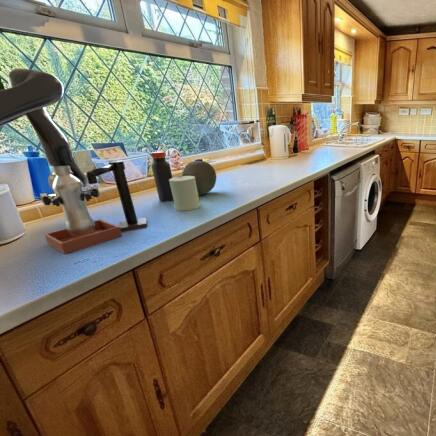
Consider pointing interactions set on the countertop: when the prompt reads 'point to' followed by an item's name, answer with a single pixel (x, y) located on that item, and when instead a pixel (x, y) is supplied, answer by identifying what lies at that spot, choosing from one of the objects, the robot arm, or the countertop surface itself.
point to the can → (184, 193)
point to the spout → (104, 171)
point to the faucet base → (127, 204)
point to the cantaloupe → (201, 175)
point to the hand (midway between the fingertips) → (72, 200)
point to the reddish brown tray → (82, 237)
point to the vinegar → (162, 176)
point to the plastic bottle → (72, 202)
